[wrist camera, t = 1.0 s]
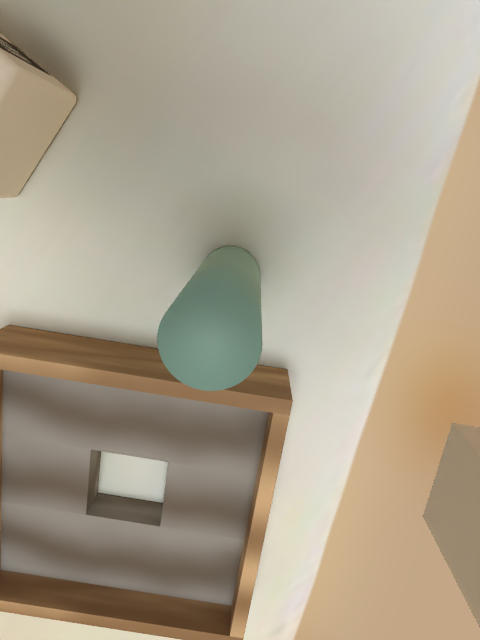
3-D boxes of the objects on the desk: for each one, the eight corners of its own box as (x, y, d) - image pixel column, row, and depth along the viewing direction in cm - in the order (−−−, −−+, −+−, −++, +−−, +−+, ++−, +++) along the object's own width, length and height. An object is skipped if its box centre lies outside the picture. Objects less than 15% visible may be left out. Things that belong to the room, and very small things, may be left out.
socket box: (8, 324, 32) (-35, 348, 28) (287, 369, 33) (292, 400, 28) (4, 553, 38) (-32, 606, 33) (243, 590, 38) (241, 648, 33)
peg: (205, 241, 30) (163, 283, 17) (264, 251, 30) (270, 300, 17) (197, 299, 31) (152, 382, 18) (255, 309, 31) (252, 398, 18)
